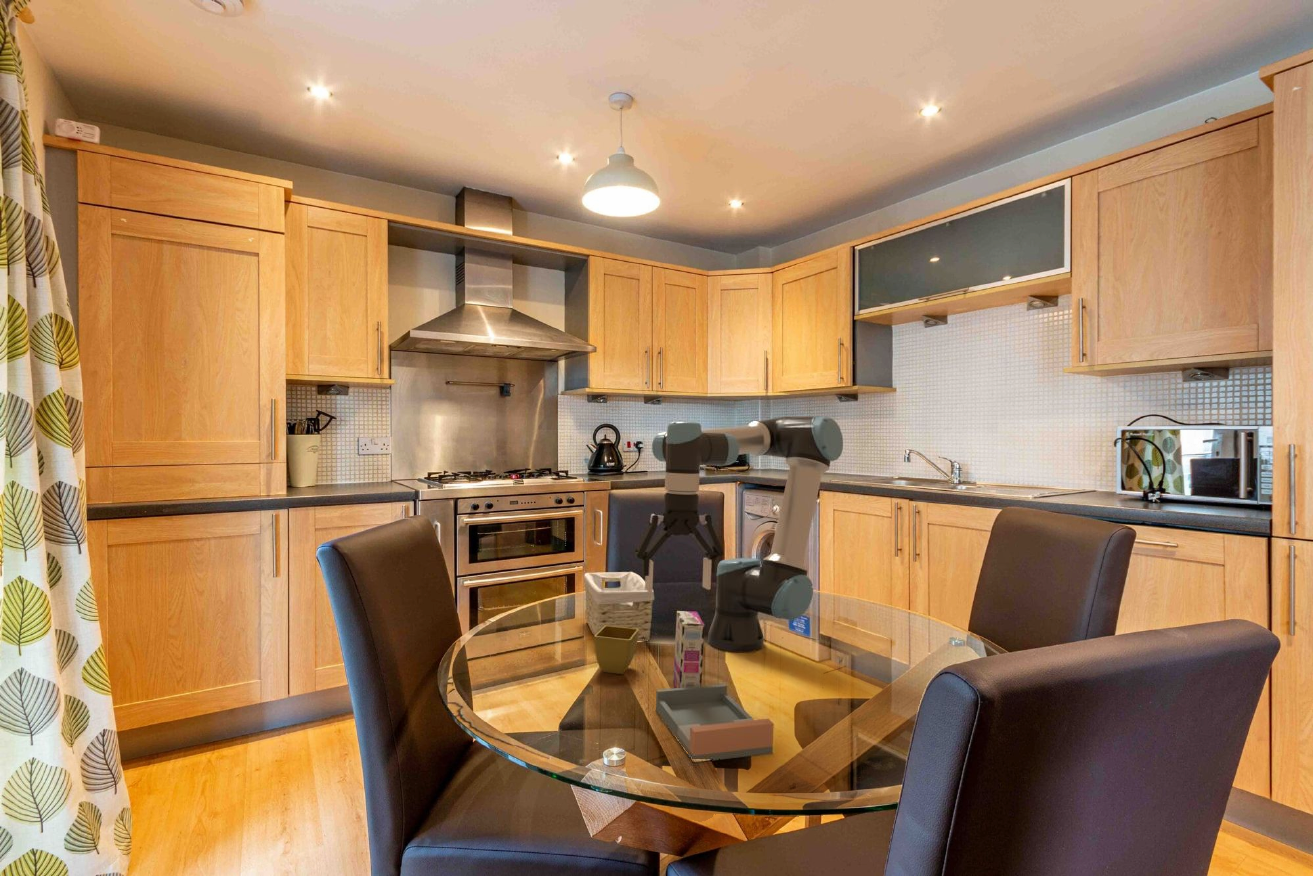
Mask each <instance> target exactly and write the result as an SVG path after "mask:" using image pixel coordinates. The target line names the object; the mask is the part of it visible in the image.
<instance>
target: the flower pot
mask: <svg viewBox="0 0 1313 876" xmlns="http://www.w3.org/2000/svg"><path fill="white" fill-rule="evenodd" d="M638 632H639V629H635V628H626V627H616V626H604V627H603V628H602V629H601V630H600V631H599V632H598V633H597V634H596V635H594V637H593V638H594V649H595V657H596V661H597V665H598V666H599V668H600V670H601V671H602V672H603V673H610V674H616V675H617V674H618V675H619V674H620V675H624V674H625V673H626V671H627V670H628V668H629V666H630V665H631V663H632V662H633V658H634V657H635V654H636V650H637V645H638V643H637V639H638Z"/></svg>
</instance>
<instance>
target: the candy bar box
mask: <svg viewBox="0 0 1313 876" xmlns="http://www.w3.org/2000/svg"><path fill="white" fill-rule="evenodd" d="M675 624H676V625H675V643H674V660H673V661H674V663H673V681H672V682H673V683H672V684H673V686H674V688H686V687H698V686H702V684H703V683H702V681H703V663H704V662H703V661H704V660H703V659H704V644H705V643H704V641H705V623H704V622H703V620H702V619H701V616H700V615H699V613H698V611H693V610H692V611H691V610H690V611H689V610H677V611H676V623H675Z"/></svg>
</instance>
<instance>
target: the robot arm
mask: <svg viewBox="0 0 1313 876" xmlns="http://www.w3.org/2000/svg"><path fill="white" fill-rule="evenodd" d="M843 438H844V436H843V433H842V430H841V427H840V426H839V424H838V422H837V421H835V420H834V419H833V418H831V417H828V416H820V415H815V416H780V417H776V418H775V417H774V418H770V419H765V420H757V421H752V422H750V423H748V424H747V425H743V426H742V425H740V426H732V427H729V426H728V427H720V428H718V427H717V428H707V429H702V425H701V424H700V423H699V422H689V421H672V422H671V421H670V422H669V423H668V425H667V430H666V431H663V432H659V433H657V434H656V435H655V436H654V438H653V440H652V444H651V448H652V449H651V451H652V455H653V457H654V458H655V459H656V460H658V461H659V462H664V463H665V473H664V474H665V475H664V476H665V477H664V490H665V491H667V492H665V493H664V497H663V499H664V500H663V514H662V515H658V514H654V513H651V514H649V519H648V524H647V525H646V529H644V532H643V534H642V536H641V538H640V539H639V542H638V544H637V546H636V547H635V549H634V551H633V555H634V557H635V558H637V559H640V560H641V574H642V576H644V577H645V579H644V581H645V590H647V591H648V592H652V589H653V584H654V583H653V581H654V561H653V560H651V559H652V558H653V557H654V555H656V553H657V552H658V551H659V549H660V548H661V547H662V546H663V544H665V542H666V541H667V540H668V538H669V539H670V537H671V536H672V535H673V536H675V537H676V536H681V535H683V536H689V535H690V536H691V537H692V539H694V541H695V542H696V544H697V545H698V546H699V547H700V549H701V550H702V552H703V554H705V555H706V557H703V560H702V561H703V562H702V566H703V567H702V585H701V586H702V588H704V589H706V590H711V583H712V574H714V573H715V567H716V561H717V559H718V557H723V556H724V554H725V553H724V551H723V549H722V545H721V544H720V541H719V538H718V536H717V534H716V531H715V528H714V526H713V524H712V523H713V522H712V521H713V520H712V515H710V514H707V513H702V514H700V515H699V498H700V497H699V494H698V492H699V490H700V469H701V466H718V467H723V466H729V465H732V464H734V463H735V462H736V461H737V459H738V457H739V455H746V454H750V455H752V456H755V457H760V456H769V457H777V458H782V459H783V458H784V459H785V463H787V465H788V467H789V468H788V469H789V470H788V474H787V478H786V483H785V488H784V492H783V495H782V496H783V497H782V500H781V505H780V510H779V515H778V519H777V523H776V528H775V533H774V537H773V540H772V546H771V551H770V553H769V555H767V556H766V557H764V558H763V559H762V564H761V560H760V559H759V558H752V557H743V558H741V557H739V558H726V559H722V560H721V561H719V562H718V564H717V567H716V568H717V569H716V575H715V576H716V577H715V579H716V581H715V583H716V586H715V611H714V612H715V613H714V617H713V620H712V622H711V625H710V627H709V631H708V635H707V643H708V644H709V645H710V646H712V647H714V648H716V649H719V650H722V651H726V652H733V653H734V652H735V653H750V652H751V653H752V652H756V651H759V650H761V649H763V648H764V644H765V643H764V641H765V639H764V633H763V630H762V626H761V623H760V619H759V614H760V613H761V614H765V615H768V616H770V617H771V616H772V617H774V618H776V619H779V620H780V619H783V620H788V621H794V620H798V619H799V618H801V617H802V616H803V615H804V614H805V613H806V612H807V611H808V609H809V608H810V605H811V603H812V599H813V595H814V588H813V582H812V580H811V579H810V577H808V568H807V566H806V565H805V562H804V560H805V556H806V551H807V546H808V541H809V537H810V533H811V529H812V528H811V527H812V523H813V518H814V512H815V508H816V503H817V500H818V499H817V498H818V494H819V489H820V485H821V480H822V476H823V474H824V473H826V472H828V471H829V470H830V465H831V462H834V461H837V460H838V459H840V457H841V456H842V453H843V448H844V439H843ZM661 522H662V523H663V525H664V526H663V527H662V529H661V530H660V531H659V533H658V535H657V536H656V537H655V538H654V540H653V541H651V540H652V538H653V536H654V535H655V532H656V530H657V528H658V526H659V525H661V524H660V523H661ZM699 522H700V524H701V525H702V527H703V529H704V532H705V535H706V536H707V539H708V541H709V543H710V545H709V544H708V542H707V541H706V540H705V538H703V537H704V536H702V535H701V533H700V531H699V529H698V528H697V527H696V526H697V525H698V524H699ZM650 542H651V543H650ZM649 544H650V545H649ZM710 546H711V547H710Z"/></svg>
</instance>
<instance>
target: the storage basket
mask: <svg viewBox="0 0 1313 876" xmlns="http://www.w3.org/2000/svg"><path fill="white" fill-rule="evenodd" d="M583 575H584V578H583V581H584V591H585V609H586V610H585V613H586V622H587V624H588V627H589V629H590V631H591V633H592V634H593V635H594V636H595V635H596V634H597V633H598V632H599V631H600V630H601V629H602V628H603V627H604V626H616V627H626V628H635V629H639V632H638V639H637V641H647V640H649V641H650V638H651V637H650V636H651V627H652V623H651V622H652V613H653V602H654V601H655V593H654V589H653V588H652V592H648V591H647V590H645V579H643V578H642V577H641V576H640V575H639V574H637V573H636V572H633V571H628V572H627V571H621V572H619V571H618V572H617V571H615V572H613V571H612V572H611V571H610V572H609V571H608V572H607V571H606V572H603V571H602V572H598V571H597V572H586V573H584V574H583ZM604 582H605V583H607V582H608V583H609V582H613V583H615V582H620V586H619V587H603V583H604ZM643 639H644V640H643ZM647 642H648V641H647Z"/></svg>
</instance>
